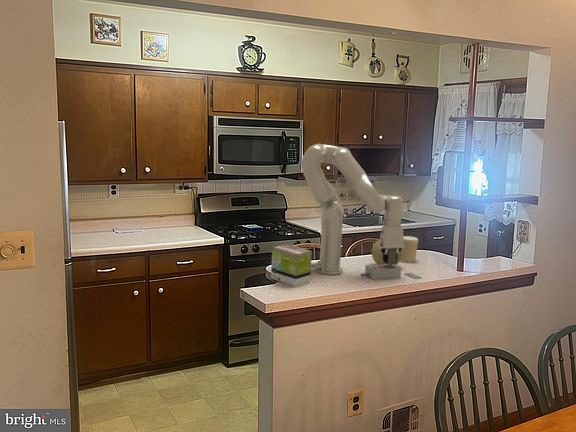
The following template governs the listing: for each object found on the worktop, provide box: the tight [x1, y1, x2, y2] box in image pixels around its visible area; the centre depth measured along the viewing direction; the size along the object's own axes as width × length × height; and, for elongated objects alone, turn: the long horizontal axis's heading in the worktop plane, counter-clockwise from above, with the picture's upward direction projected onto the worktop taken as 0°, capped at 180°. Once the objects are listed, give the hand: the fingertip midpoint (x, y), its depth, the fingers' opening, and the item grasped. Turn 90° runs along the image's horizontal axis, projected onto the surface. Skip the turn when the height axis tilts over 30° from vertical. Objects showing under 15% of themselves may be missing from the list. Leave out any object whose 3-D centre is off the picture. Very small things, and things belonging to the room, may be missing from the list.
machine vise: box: [360, 264, 402, 281], centre depth 247 cm, size 18×8×5 cm, turn 107°
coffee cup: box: [400, 235, 419, 263], centre depth 277 cm, size 9×9×12 cm
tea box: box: [270, 244, 313, 288], centre depth 234 cm, size 15×10×15 cm, turn 47°
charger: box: [384, 248, 397, 265], centre depth 247 cm, size 4×4×7 cm
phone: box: [403, 272, 422, 280], centre depth 250 cm, size 4×8×1 cm, turn 25°
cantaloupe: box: [371, 238, 402, 266], centre depth 263 cm, size 15×15×15 cm
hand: (389, 261), depth 248 cm, fingers closed on charger, 4 cm apart
